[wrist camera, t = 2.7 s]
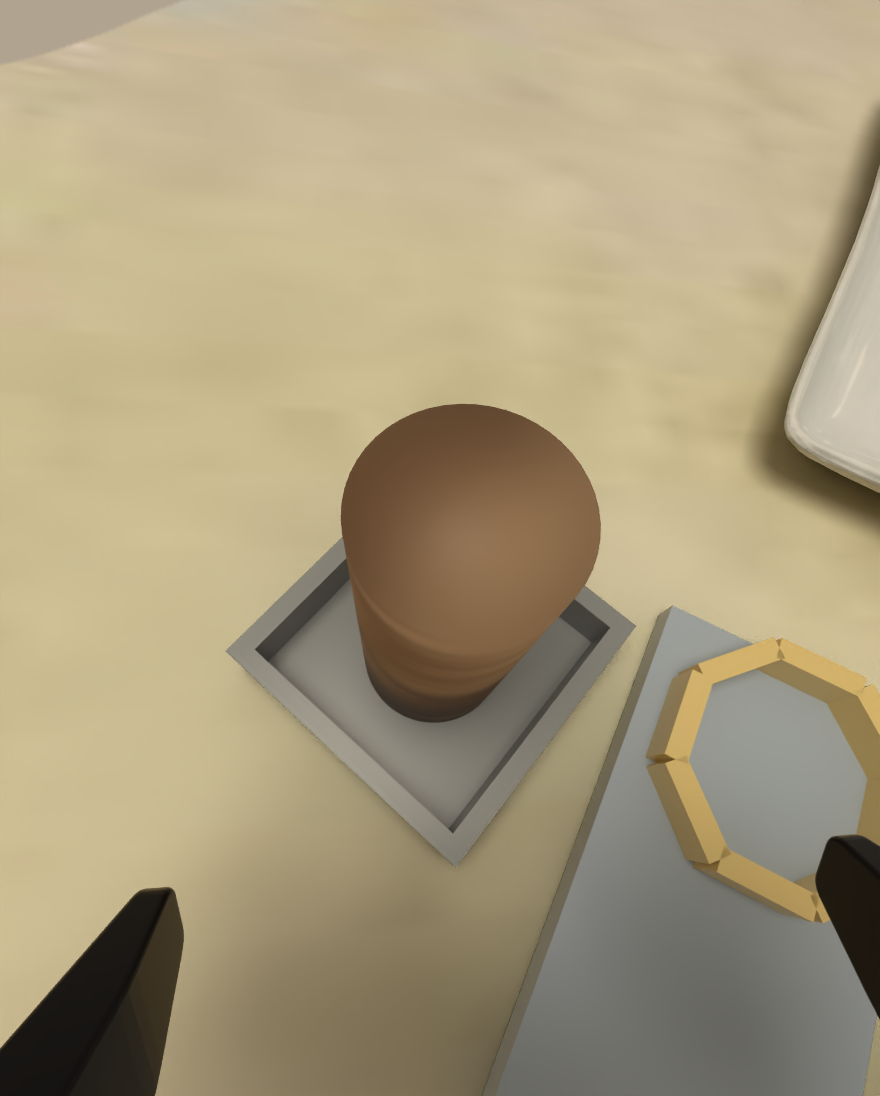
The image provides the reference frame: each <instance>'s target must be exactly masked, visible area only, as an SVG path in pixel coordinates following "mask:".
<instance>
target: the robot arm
mask: <svg viewBox="0 0 880 1096" xmlns="http://www.w3.org/2000/svg"><path fill="white" fill-rule="evenodd" d="M815 884H816V889H817V892H818V895H819V897H820V899H821V902H822V904H823V906H824V908H825V910H826V912H827V914H828V916H829V918H830V920H831V922H832V924H833V926H834V928H835V930H836V933H837V935H838V937H839V939H840V941H841V943H842V945H843V947H844V949H845V951H846V953H847V955H848V957H849V959H850V961H851V964H852V966H853V968H854V970H855V972H856V974H857V976H858V978H859V980H860V982H861V984H862V986H863V988H864V990H865V992H866V994H867V996H868V998H869V1000H870V1002H871V1004H872V1006H873V1008H874V1010H875V1012H876V1014H877V1015H878V1017H879V1019H880V846H879V845H877V844H876V843H874V842H873V841H871V840H869V839H868V838H866V837H864V836H861V835H857V834H850V835H837V836H832V837H831V838H829V839H828V841H827V843H826V845H825V848H824V851H823V854H822V857H821V860H820V863H819V866H818V869H817V872H816V875H815ZM183 942H184V930H183V925H182V921H181V916H180V912H179V907H178V903H177V898H176V894H175V892H174V890H173V889H172V888H170V887H162V888H149V889H143V890H140V891H139V892H137V893H136V894H135V895H134V896H133V897H132V898H131V899H130V900H129V902H128V903H127V904H126V905H125V906H124V907H123V908H122V910H121V911H120V912H119V913H118V914H117V915H116V916H115V918H114V919H113V920H112V921H111V922H110V923H109V924H108V926H107V927H106V928H105V929H104V930H103V931H102V932H101V934H100V935H99V936H98V937H97V938H96V939H95V940H94V942H93V943H92V944H91V945H90V946H89V947H88V949H87V950H86V951H85V952H84V953H83V954H82V955H81V957H80V958H79V959H78V960H77V961H76V962H75V963H74V965H73V966H72V967H71V968H70V969H69V970H68V971H67V973H66V974H65V975H64V976H63V977H62V978H61V979H60V981H59V982H58V983H57V984H56V985H55V986H54V987H53V989H52V990H51V991H50V992H49V993H48V994H47V995H46V997H45V998H44V999H43V1000H42V1001H41V1002H40V1003H39V1005H38V1006H37V1007H36V1008H35V1009H34V1010H33V1012H32V1013H31V1014H30V1015H29V1016H28V1017H27V1018H26V1020H25V1021H24V1022H23V1023H22V1024H21V1025H20V1026H19V1028H18V1029H17V1030H16V1031H15V1032H14V1033H13V1034H12V1036H11V1037H10V1038H9V1039H8V1040H7V1041H6V1042H5V1044H4V1045H3V1046H2V1047H1V1048H0V1096H155V1093H156V1089H157V1084H158V1080H159V1075H160V1070H161V1065H162V1059H163V1054H164V1048H165V1043H166V1037H167V1032H168V1027H169V1021H170V1016H171V1010H172V1005H173V1000H174V994H175V989H176V983H177V978H178V972H179V967H180V962H181V956H182V950H183Z"/></svg>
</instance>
